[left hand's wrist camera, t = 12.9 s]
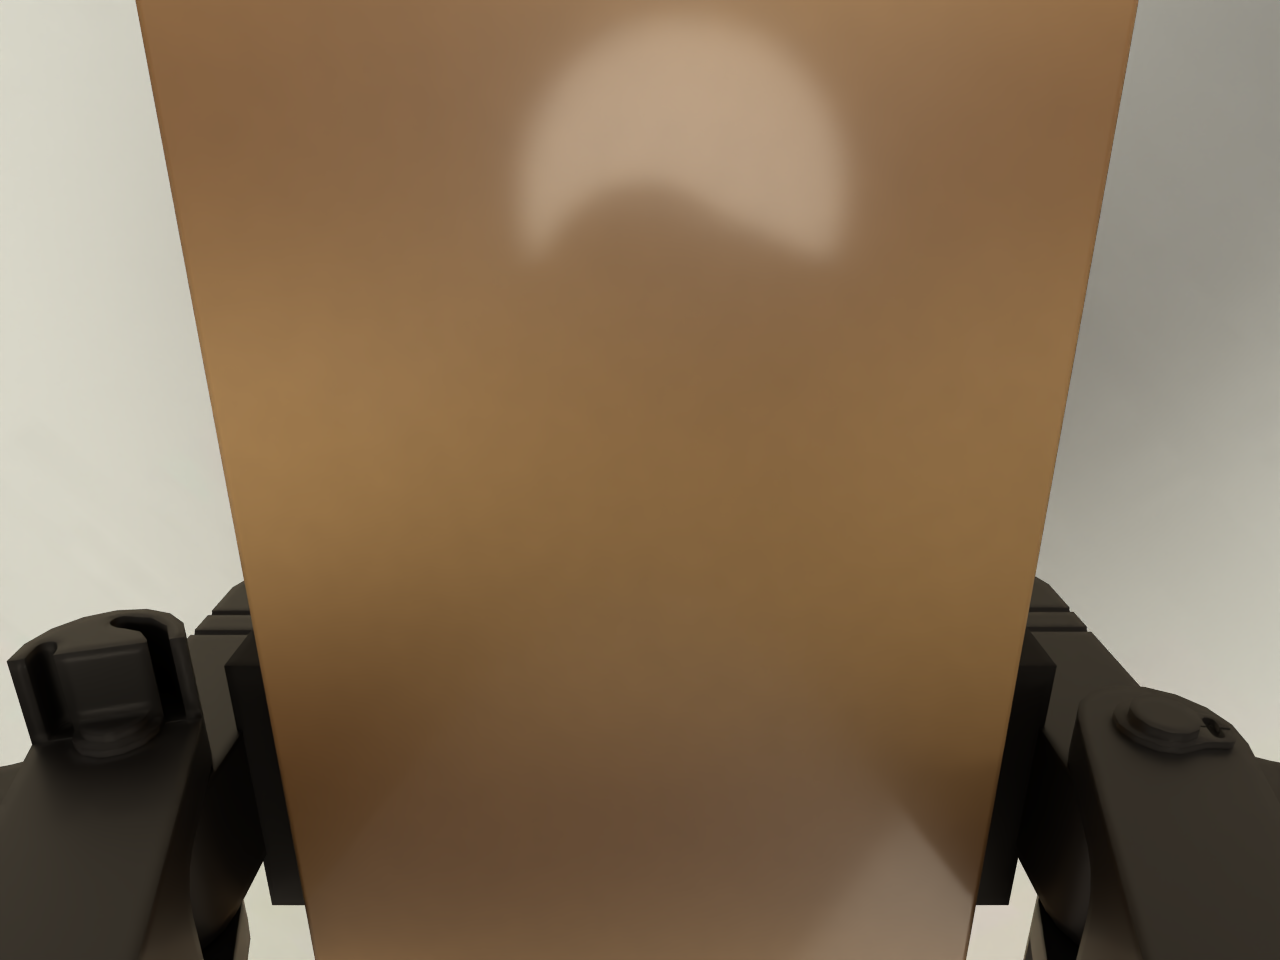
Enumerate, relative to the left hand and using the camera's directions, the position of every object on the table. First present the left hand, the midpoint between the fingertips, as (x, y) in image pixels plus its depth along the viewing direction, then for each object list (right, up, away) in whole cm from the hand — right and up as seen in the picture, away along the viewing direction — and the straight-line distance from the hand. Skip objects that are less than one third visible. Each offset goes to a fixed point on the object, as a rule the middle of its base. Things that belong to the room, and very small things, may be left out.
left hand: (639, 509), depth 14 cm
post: (0, -27, +11) cm, 29 cm away
